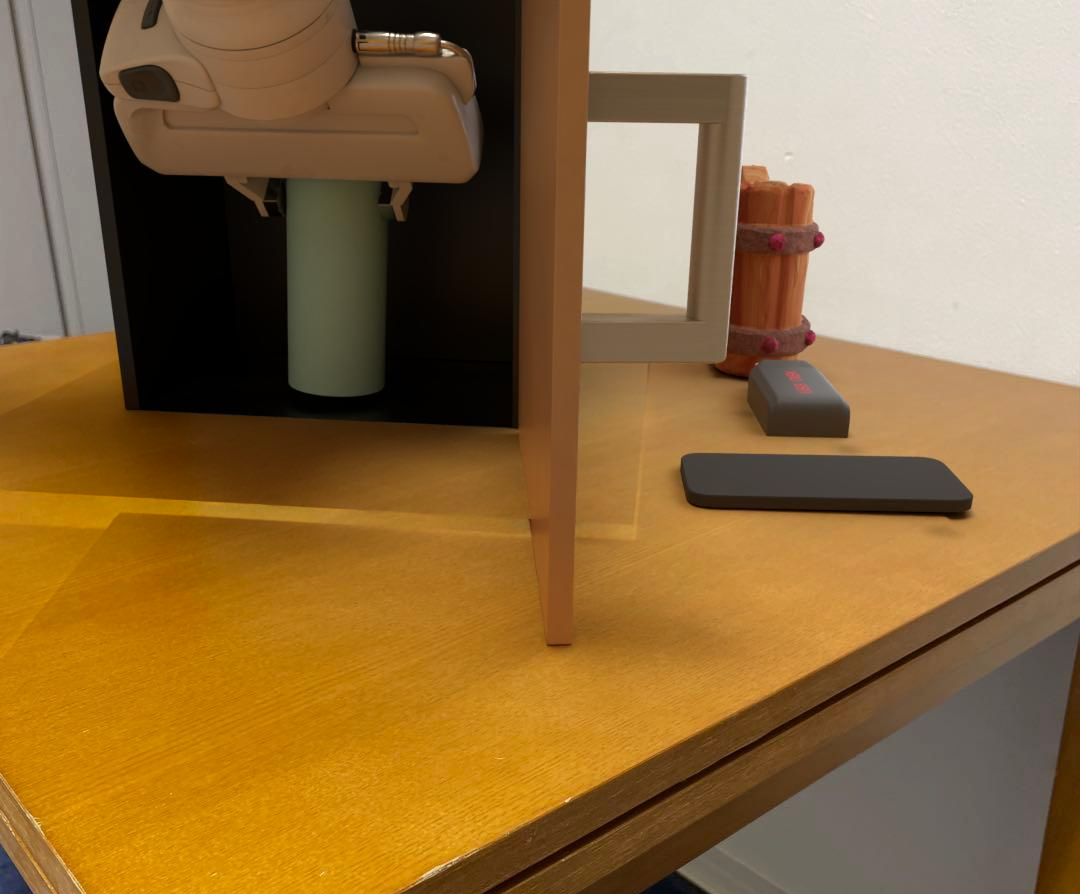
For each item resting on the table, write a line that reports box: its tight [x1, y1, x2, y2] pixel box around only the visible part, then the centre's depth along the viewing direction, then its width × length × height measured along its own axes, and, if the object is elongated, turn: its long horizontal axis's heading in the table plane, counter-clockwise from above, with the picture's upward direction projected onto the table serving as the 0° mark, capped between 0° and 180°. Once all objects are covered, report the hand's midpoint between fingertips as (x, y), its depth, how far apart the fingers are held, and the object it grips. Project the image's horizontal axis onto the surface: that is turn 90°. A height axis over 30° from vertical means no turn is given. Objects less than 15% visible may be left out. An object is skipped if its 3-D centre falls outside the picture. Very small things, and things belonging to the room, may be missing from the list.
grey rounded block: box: [746, 359, 851, 439], centre depth 75 cm, size 5×12×3 cm, turn 178°
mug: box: [713, 164, 825, 379], centre depth 86 cm, size 15×8×15 cm, turn 0°
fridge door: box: [517, 0, 750, 645], centre depth 49 cm, size 7×26×32 cm, turn 4°
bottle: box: [286, 178, 389, 397], centre depth 70 cm, size 6×6×20 cm
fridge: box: [70, 0, 522, 430], centre depth 71 cm, size 18×26×32 cm
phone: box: [679, 452, 974, 513], centre depth 60 cm, size 7×1×15 cm
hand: (335, 210), depth 69 cm, fingers closed on bottle, 6 cm apart
